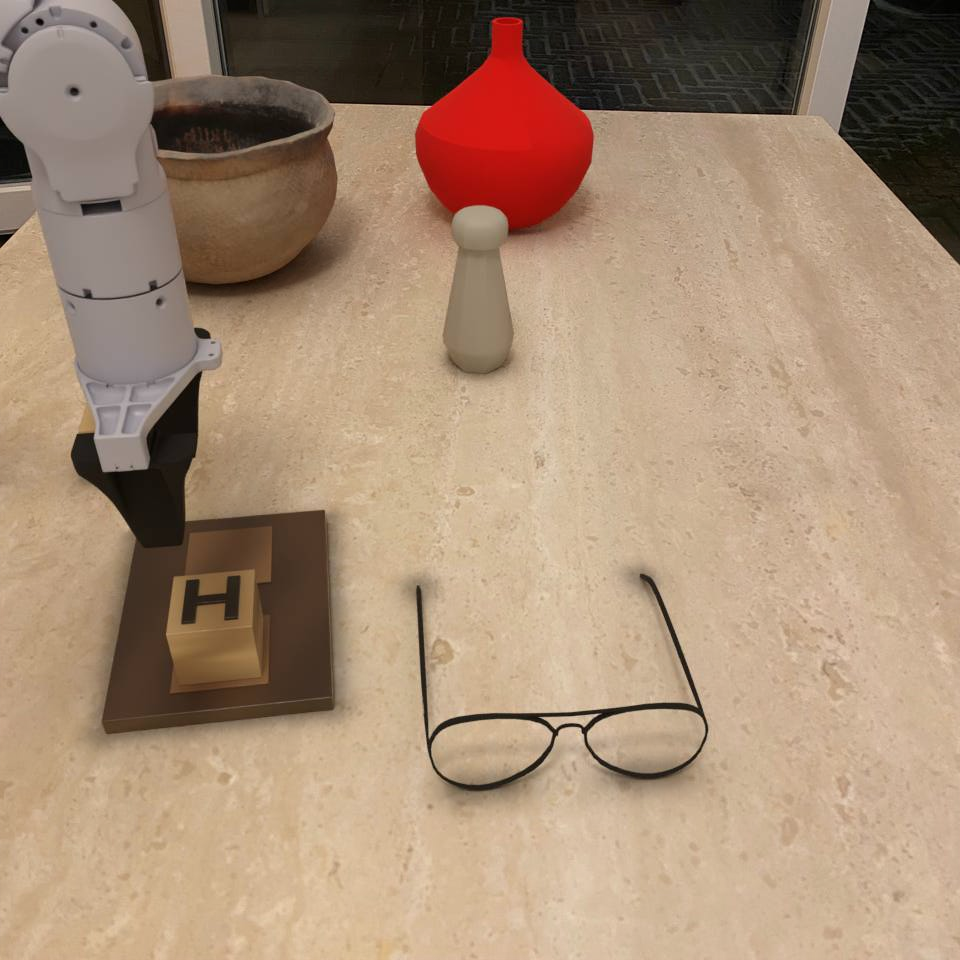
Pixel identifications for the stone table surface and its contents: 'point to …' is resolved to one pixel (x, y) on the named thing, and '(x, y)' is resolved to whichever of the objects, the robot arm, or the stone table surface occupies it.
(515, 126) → the vase
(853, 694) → the stone table surface
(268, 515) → the word board
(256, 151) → the ceramic bowl
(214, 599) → the tile
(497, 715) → the glasses
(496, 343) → the salt shaker
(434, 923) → the stone table surface
